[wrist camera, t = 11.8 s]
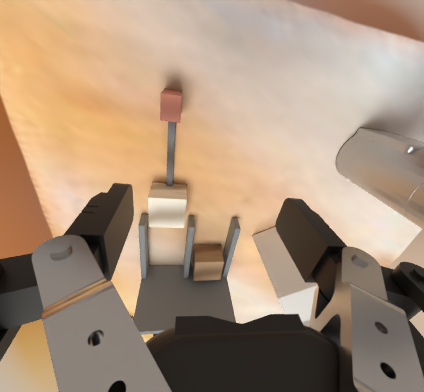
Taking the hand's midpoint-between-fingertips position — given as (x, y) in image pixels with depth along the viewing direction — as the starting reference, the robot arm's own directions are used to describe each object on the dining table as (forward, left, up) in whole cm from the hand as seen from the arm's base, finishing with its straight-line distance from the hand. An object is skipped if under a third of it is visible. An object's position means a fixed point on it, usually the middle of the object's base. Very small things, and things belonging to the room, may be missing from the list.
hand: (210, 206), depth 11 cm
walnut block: (+30, +6, -24) cm, 39 cm away
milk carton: (+25, +20, -24) cm, 40 cm away
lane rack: (+27, +1, -24) cm, 36 cm away
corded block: (+7, -3, -24) cm, 25 cm away
